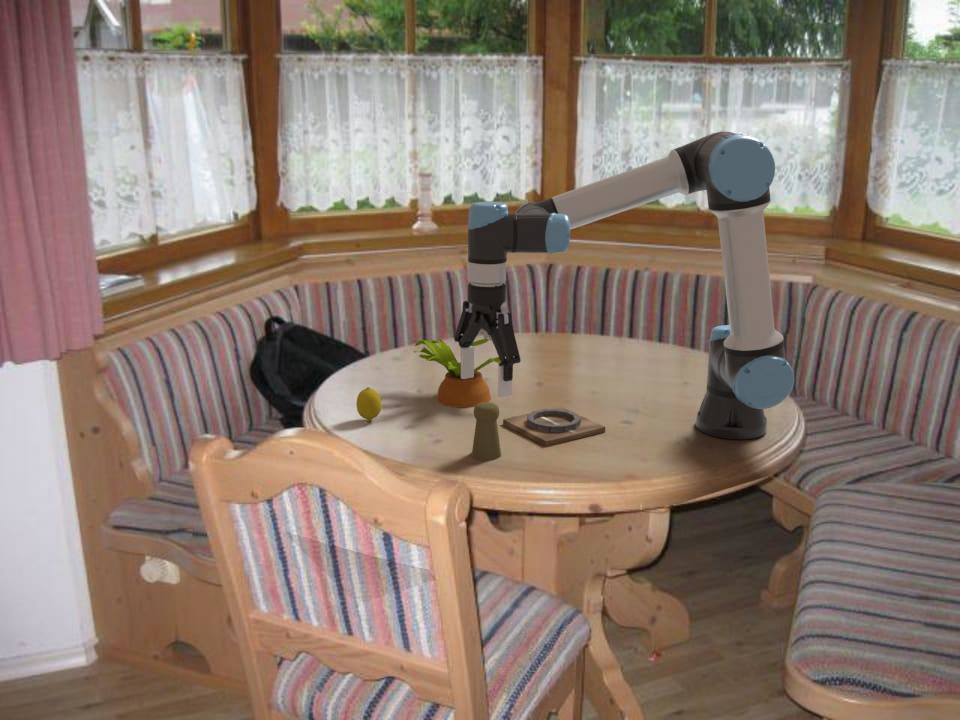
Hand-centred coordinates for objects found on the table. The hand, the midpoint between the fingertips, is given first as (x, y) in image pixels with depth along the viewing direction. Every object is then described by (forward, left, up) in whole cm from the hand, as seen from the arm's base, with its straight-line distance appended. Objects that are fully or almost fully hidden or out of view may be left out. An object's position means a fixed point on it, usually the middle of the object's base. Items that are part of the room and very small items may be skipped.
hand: (485, 386), depth 197 cm
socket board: (+5, -21, -15) cm, 26 cm away
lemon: (+31, +11, -15) cm, 36 cm away
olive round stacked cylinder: (0, 0, -15) cm, 15 cm away
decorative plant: (+34, -14, -15) cm, 40 cm away
